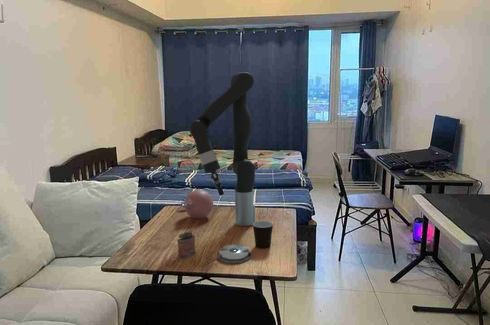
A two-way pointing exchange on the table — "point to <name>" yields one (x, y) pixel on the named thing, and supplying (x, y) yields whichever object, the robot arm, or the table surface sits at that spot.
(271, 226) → the coffee mug
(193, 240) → the lighter
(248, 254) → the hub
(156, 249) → the table surface
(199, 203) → the balloon
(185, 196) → the gear
